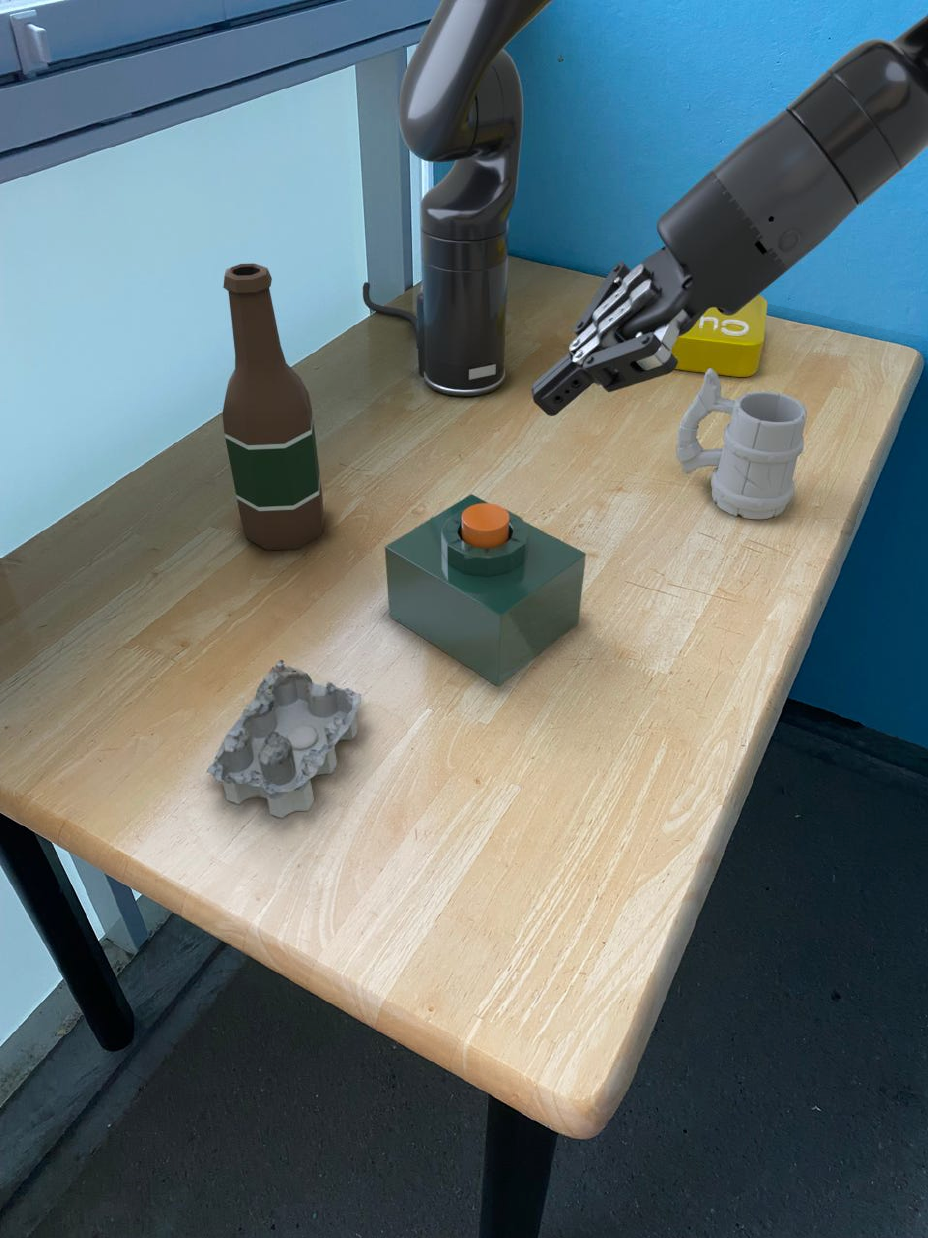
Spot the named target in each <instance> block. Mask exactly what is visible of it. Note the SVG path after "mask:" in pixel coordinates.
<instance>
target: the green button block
mask: <svg viewBox="0 0 928 1238" xmlns="http://www.w3.org/2000/svg"><path fill="white" fill-rule="evenodd" d="M480 503H489V502H488V501H486V500H483V498H480V497H478V496H476V495H474V494H472V493H471V494H469V495H467V496H465V497H464V498H462V499H461V500H459V501H458V502H455V503H454V504H452V505H451V506H450V507H447V508H446V509H444V510H442V511H441V512H439V513H438V514H436V515H434V516H432V517H431V518H430V519H427V521H425V522H423V523H421V524H420V525H418V526H416V527H414V528H413V529H411V530H410V531H408V532H407V533H404V534H403V535H401V536H400V537H398V538H396V539H395V540H394V541H392V542H390V543H388V544H387V545H385V546H384V556H385V557H384V559H385V570H386V571H385V572H386V582H387V583H386V586H387V599H388V600H387V601H388V614H389V617H390V618H392V619H393V620H395V621H397V622H398V623H399V624H401V625H402V626H404V627H405V628H407V629H408V630H410V631H412V632H413V633H414V634H416V635H418V636H419V637H421V638H423V639H424V640H426V641H427V642H428V643H430V644H432V645H433V646H435V647H437V648H438V649H439V650H441V651H442V652H444V653H446V654H447V655H449V656H450V657H452V658H453V659H455V660H456V661H458V662H460V663H461V664H463V665H464V666H465V667H467V668H469V669H470V670H471V671H473V672H475V673H476V674H478V675H479V676H481V677H483V678H484V679H486V680H487V681H488V682H490V683H491V684H493V685H495V686H496V687H500V685H502V684H503V683H504V682H506V681H507V680H508V679H511V677H512V676H514V674H516V673H517V672H519V671H520V670H521V669H522V668H523V667H525V666H526V665H528V664H529V663H530V662H531V661H533V660H534V659H535V658H536V657H537V656H538V655H540V654H541V653H542V652H544V651H545V650H547V648H549V647H550V646H552V644H554V643H555V642H556V641H558V640H560V638H561V637H562V636H564V635H565V634H566V633H568V632H569V631H570V630H572V629H573V628H574V627H575V626H577V625H578V624H579V619H580V611H581V602H582V592H583V584H584V575H585V565H586V555H587V553H586V552H584V551H582V550H580V549H578V548H577V547H575V546H572V545H570V544H568V543H567V542H565V541H563V540H561V539H559V538H558V537H556V536H553V535H551V534H549V533H547V532H546V531H543V530H542V529H540V528H538V527H536V526H534V525H532V524H530V523H528V522H526V521H524V519H523V518H522V517H521V516H520V515H517V514H516V513H514V512H512V511H510V510H508V509H506V508H504V509H505V510H506V511H507V512H508V514H509V517H510V519H509V538H508V540H507V541H506V543H504V544H503V545H501V546H497V547H491V548H480V547H473V546H471V545H469V544H468V543H466V542H464V540H463V539H462V513H463V512H464V510H465V509H467V508H468V507H470V506H472V505H475V504H480Z"/></svg>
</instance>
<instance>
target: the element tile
mask: <svg viewBox="0 0 928 1238" xmlns="http://www.w3.org/2000/svg"><path fill="white" fill-rule="evenodd" d="M767 312H768V301H767V300H766V299H765V298H764V296H762V295H760V294H759V295H757V296H756V297H755V298H754V299H752V300H751V301H750V302H749V303H748V304H746V305H745V306H744V307H743V308H742V309H740V310H739V311H738V312H737V313H735V314H734V315H731V316H727V315H724V314H722V313H721V312H719V311H718V309H717V308H715V307H712V308H709V309H708V310H707V311H706V312H705V313H704V314H703V315H702V316H701V317H700V319H699V320H698V321H697V322H696V324H695V325H694V326H693V328H692V329H691V330H689V331H688V332H687V333H685V334H684V335H682V336H679V337H678V338H677V339H676V341H675V343H674V345H673V348H672V350H671V353H672V354H673V355H674V356H675V357H676V358H677V359H678V364H677V366H676V368H675V369H674V370H678V371H686V372H694V373H701V374H705V373H706V372H707V370H708V369H709V368H711V369H713V370H714V371H715V372H716V374H717V375H718V376H726V377H733V378H734V377H735V378H748V377H751V376H754V374H756V372H757V371H758V368H759V363H760V359H761V355H762V351H763V346H764V343H765V333H766V324H767V323H766V322H767Z"/></svg>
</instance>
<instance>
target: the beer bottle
mask: <svg viewBox="0 0 928 1238" xmlns="http://www.w3.org/2000/svg"><path fill="white" fill-rule="evenodd" d="M272 281H273V278H272V276H271V272H270V271H269V268H268V267H266V266H263V265H260V264H257V263H239V264H237V265H234V266H231V267H228V268H226V269H225V273H224V279H223V285H222V286H223V287H222V288H223V289H225V290H226V291H227V292H228V301H229V302H228V303H229V310H230V316H231V317H230V319H231V329H232V330H231V331H232V339H233V347H234V348H233V349H234V370H233V372H232V373H231V375H230V377H229V379H228V383H227V387H226V392H225V396H224V402H223V408H222V413H221V415H222V424H223V433H224V439H225V444H226V450H227V454H228V455H227V456H228V460H229V466H230V470H231V475H232V480H233V487H234V492H235V496H236V502H237V508H238V512H239V516H240V522H241V526H242V530H243V533H244V536H245V538H246V539H247V540H249V541H251V542H252V543H254V544H256V545H258V546H260V547H261V548H263V549H265V550H266V551H282V550H283V551H285V550H300V549H301V548H303V547H304V546H307V544H309V543H311V542H312V541H314V540H315V539H317V538H319V537H320V536H322V534H323V532H324V531H323V530H324V501H323V500H324V499H323V490H322V489H323V488H322V483H321V482H322V481H321V472H320V465H319V456H318V448H317V447H318V446H317V438H316V430H315V422H314V414H313V407H312V403H311V398H310V392H309V391H308V389H307V388H306V386H305V383H304V381H303V380H302V378H301V377H300V375H299V374H298V373H297V372H296V371H295V370H294V369H293V368H292V367H291V366H290V365H289V364H288V362H287V361H286V358H285V357H286V356H285V355H284V351H283V348H282V346H281V340H280V335H279V330H278V324H277V320H276V315H275V310H274V306H273V305H274V304H273V300H272V295H271V290H270V288H271V286H272Z"/></svg>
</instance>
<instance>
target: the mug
mask: <svg viewBox="0 0 928 1238" xmlns="http://www.w3.org/2000/svg"><path fill="white" fill-rule="evenodd" d="M694 397H695V398H694V399H693V401H692V402H691V403H690V405H689V406H688V408H687V410H686V412H685V414H684V415H683V417H682V419H681V421H680V422H679V425H678V428H677V443H676V446H675V454H676V460H677V461H678V462H680V466H681V470H682V472H683V473H684V474H686V475H688V474H690V473H693V472H695V471H696V470H698V469H700V468H705V467H706V468H707V467H714V469H713V472H712V475H711V480H710V486H711V489H712V490H711V491H712V492H711V497H712V500H713V502H714V503H716V506H717V507H718V508H719V509H720V510H722V511H724V512H726V513H728V514H729V515H731V516H734V517H737V516H741V517H742V519H746V520H747V519H748V520H767V519H771V518H773V517H774V518H775V517H778V516H779V515H781V514H782V513H783V512H784V510H785V509H786V508H787V504H788V503H790V501H791V500H792V498H793V497H794V493H795V482H794V474H795V469H796V466H797V461H798V457H799V456H800V455H801V454H803V452H804V447H805V438H804V436H803V434H804V430H805V426H806V422H807V417H808V411H807V407H806V405H804V403H803V402H802V401H799V399H796V398H795V397H793V396H791V395H789V394H785V393H780V392H779V391H778V392H777V391H770V390H756V391H755V390H754V391H750V392H748V393H743V394H741V395H740V396H738V397H737V398H736V400H733V399H730V398H727V397H726V398H725V397H722V383H721V380H720V378H719V375H717V374H716V372H715V371H714V370H713V369H711V368H709V369H708V370H707V372H706V373H704V379H703V382H702V386H701V388H700V389H699V390H698V392H697V394H696V396H694ZM712 412H719V413H724V414H728V415H730V416H731V417H730V420H729V423H728V424H726V426H725V428H724V431H723V439H722V440H723V447H722V448H709V449H704V448H703V447H702V445H701V444H700V441H699V439H698V438H697V437H698V431H699V427H700V423H701V422H702V420H704V419H706V418H707V416H708V415H710V414H712Z"/></svg>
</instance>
